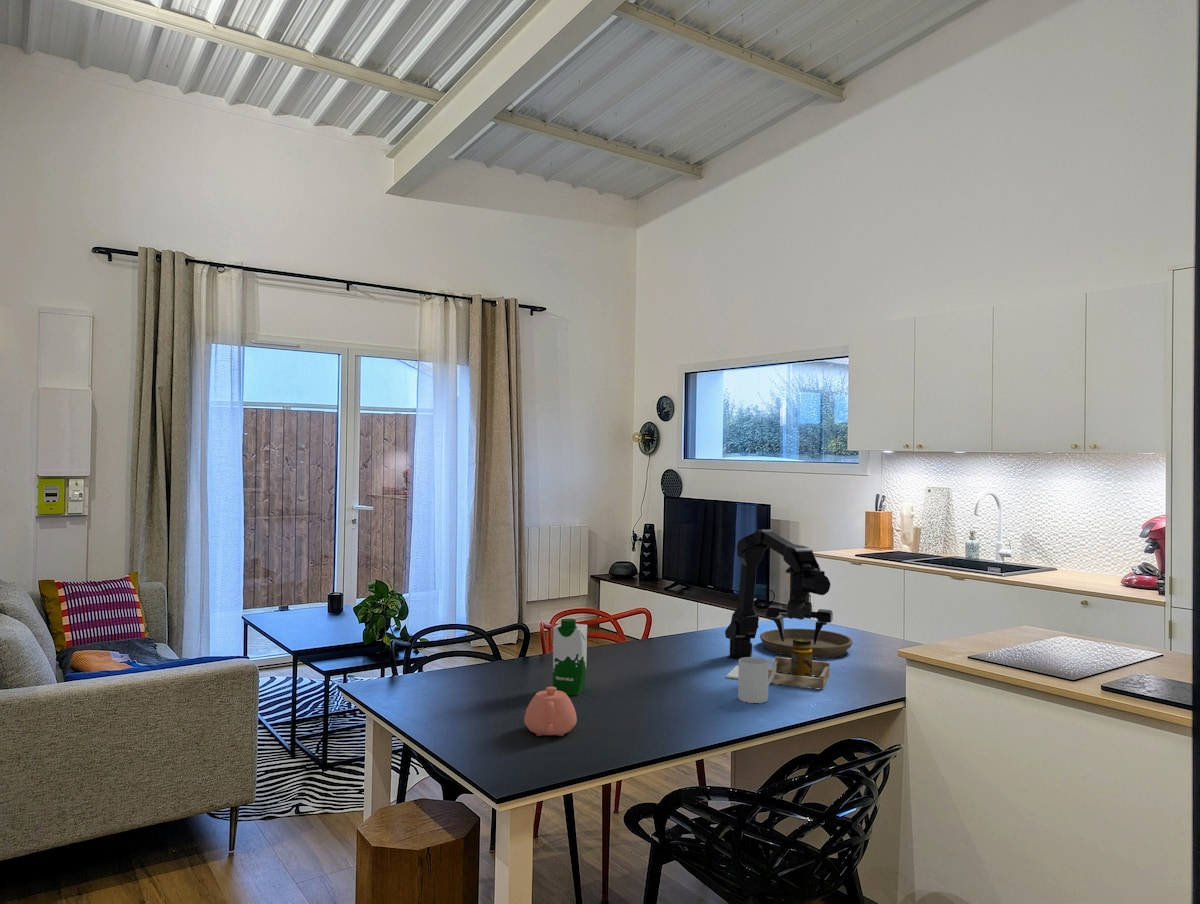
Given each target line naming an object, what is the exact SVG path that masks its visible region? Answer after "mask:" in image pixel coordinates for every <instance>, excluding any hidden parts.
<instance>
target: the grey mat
mask: <svg viewBox="0 0 1200 904" xmlns="http://www.w3.org/2000/svg"><path fill="white" fill-rule="evenodd" d="M738 676H739V665H736V666H735V667H734V668H732V670H730V672H728V673H727V675H725V678H726V679H731V678H733V680H738Z"/></svg>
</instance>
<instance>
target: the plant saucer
mask: <svg viewBox="0 0 1200 904" xmlns="http://www.w3.org/2000/svg"><path fill="white" fill-rule="evenodd" d="M814 635H815V629H813V628H784V641H783V642H782V640H781V636H780V633H779V630H778V628H777V629H771V630H767V631H766V630H765V631H764V632H762V633H760V635H759V638H760V641H761V642H762V644H763V645H765V646H766V648H767V650H769V649H770V650H769V651H771V650H772V651H771V652H773V651H774V652H773V653H775V652H777V653H776V654H779V653H781V654H780V655H783V654H786V655H785V656H788V655H791V649H792V648H793V640H794V639H796V638H804V639H809V640H810V641H811V649H812V657H830V658H835V657H834V656H837V657H840V656H843V655H844V654H846V652H847V651H848V650H849V649H850V648H851V647H852V645H853V644H854V643H853V639H852V638H851V637H850V636H848V635H845V634H842V633H839V632H835V631H829V630H823V629H821V630H820V633H819V636H818V639H817V642H816V644H815V645H814Z"/></svg>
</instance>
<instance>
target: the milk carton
mask: <svg viewBox="0 0 1200 904" xmlns="http://www.w3.org/2000/svg"><path fill="white" fill-rule="evenodd" d="M552 629H553V631H552V634H553V637H552V639H553V642H552V643H553V644H552V645H553V646H552V648H553V649H552V687H556V690H558V691H562V692H565V693H566V694H567V696H576V697H577V696H579V695H580V694H581V693H582V692H584V690H586V680H587V656H588V655H587V654H588V653H587V649H588V645H587V644H588V643H587V640H588V636H587V635H588V624H584V623H583V624H581V623H577V620H576V619H575V618H562V619H560V623H558V624H557V625H555V626H554V627H553V628H552Z"/></svg>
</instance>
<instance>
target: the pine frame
mask: <svg viewBox="0 0 1200 904" xmlns="http://www.w3.org/2000/svg"><path fill="white" fill-rule="evenodd" d="M773 661H774V662H775V663H776V673H775V676H774V678H773V680H772V682H771V683H775V684H774V685H778V684H782V685H781V686H786V685H791V686H790V687H795V686H800V687H799V688H803V687H810V688H809V689H812V688H820V689H823V688H824V689H825V687H826V685H827V683H828V681H829V679H830V664H831V663H830V661H829V662H828V661H819V660H814V659H812V675H815V676H820V677H815V676H812V677H807V676H798V675H791V674H788V673H791V657H784V656H775V657H774V660H773ZM771 672H772V664H771V665H770V666H769V667H768V679H769V677H770V675H771ZM779 672H784V673H779ZM828 678H829V679H828ZM827 680H828V681H827ZM826 682H827V683H826ZM825 684H826V685H825ZM824 686H825V687H824ZM820 689H819V690H820ZM824 689H823V690H824Z"/></svg>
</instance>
